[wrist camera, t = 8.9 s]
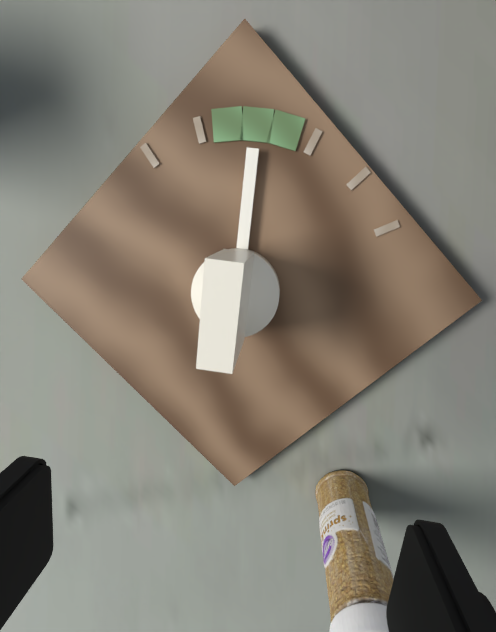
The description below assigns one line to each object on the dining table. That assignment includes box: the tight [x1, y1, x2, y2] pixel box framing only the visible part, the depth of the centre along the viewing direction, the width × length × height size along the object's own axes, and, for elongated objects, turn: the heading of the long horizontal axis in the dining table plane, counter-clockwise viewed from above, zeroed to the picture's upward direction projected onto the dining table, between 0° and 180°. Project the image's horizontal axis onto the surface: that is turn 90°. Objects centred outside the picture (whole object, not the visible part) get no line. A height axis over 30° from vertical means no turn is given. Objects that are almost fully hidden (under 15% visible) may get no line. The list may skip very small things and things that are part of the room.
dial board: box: [22, 19, 482, 486], centre depth 28 cm, size 24×24×2 cm
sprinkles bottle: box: [316, 470, 394, 632], centre depth 26 cm, size 5×5×14 cm
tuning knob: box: [191, 147, 280, 374], centre depth 22 cm, size 12×6×8 cm, turn 174°
